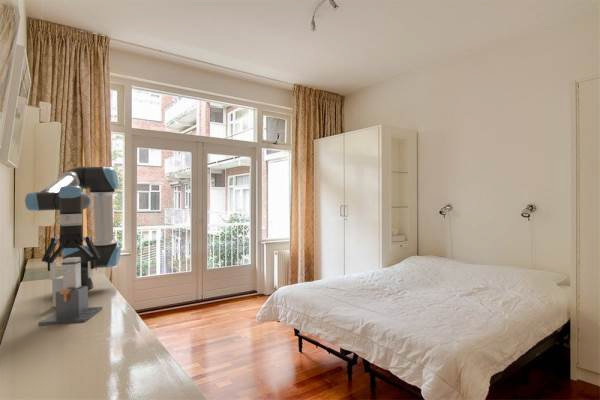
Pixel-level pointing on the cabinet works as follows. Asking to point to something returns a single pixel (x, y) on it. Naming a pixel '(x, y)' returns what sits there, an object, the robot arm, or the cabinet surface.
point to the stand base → (71, 307)
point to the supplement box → (56, 287)
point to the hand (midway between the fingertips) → (72, 278)
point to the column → (72, 273)
